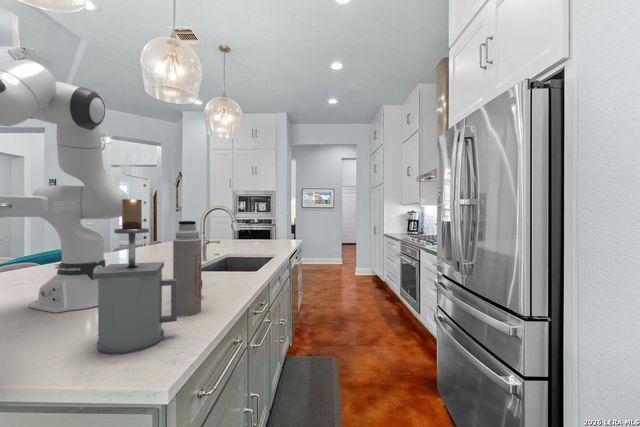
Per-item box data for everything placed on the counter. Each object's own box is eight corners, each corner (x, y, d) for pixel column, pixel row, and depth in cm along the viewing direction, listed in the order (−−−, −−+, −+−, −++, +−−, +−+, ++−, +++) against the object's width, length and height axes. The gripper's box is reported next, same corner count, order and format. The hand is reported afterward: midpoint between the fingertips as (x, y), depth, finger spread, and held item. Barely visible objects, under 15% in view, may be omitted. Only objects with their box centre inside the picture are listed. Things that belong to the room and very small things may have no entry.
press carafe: (87, 358, 66) (87, 274, 66) (107, 333, 79) (107, 263, 79) (173, 347, 71) (174, 270, 71) (179, 326, 84) (179, 260, 84)
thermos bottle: (206, 308, 99) (206, 220, 99) (191, 317, 92) (191, 221, 91) (183, 306, 101) (184, 220, 101) (167, 315, 93) (167, 221, 93)
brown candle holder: (100, 285, 68) (100, 198, 68) (113, 276, 78) (113, 199, 77) (151, 282, 71) (151, 199, 71) (158, 273, 81) (158, 200, 81)
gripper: (-29, 185, 48) (81, 189, 58) (-33, 189, 61) (58, 192, 72) (-29, 226, 48) (81, 223, 58) (-32, 221, 61) (58, 220, 72)
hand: (68, 206), depth 65 cm, fingers open, 8 cm apart
